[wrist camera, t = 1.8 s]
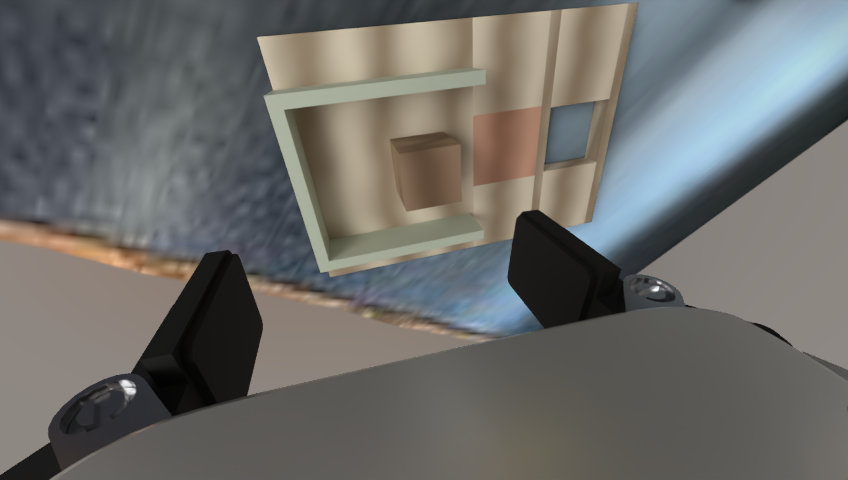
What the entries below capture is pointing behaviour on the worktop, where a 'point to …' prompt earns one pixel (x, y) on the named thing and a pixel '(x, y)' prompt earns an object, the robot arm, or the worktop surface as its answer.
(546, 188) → the board
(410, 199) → the walnut block
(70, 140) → the worktop surface
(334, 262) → the low bay
